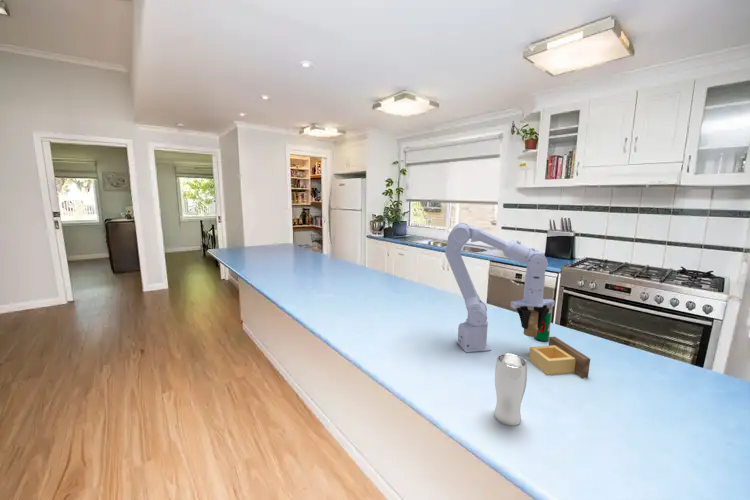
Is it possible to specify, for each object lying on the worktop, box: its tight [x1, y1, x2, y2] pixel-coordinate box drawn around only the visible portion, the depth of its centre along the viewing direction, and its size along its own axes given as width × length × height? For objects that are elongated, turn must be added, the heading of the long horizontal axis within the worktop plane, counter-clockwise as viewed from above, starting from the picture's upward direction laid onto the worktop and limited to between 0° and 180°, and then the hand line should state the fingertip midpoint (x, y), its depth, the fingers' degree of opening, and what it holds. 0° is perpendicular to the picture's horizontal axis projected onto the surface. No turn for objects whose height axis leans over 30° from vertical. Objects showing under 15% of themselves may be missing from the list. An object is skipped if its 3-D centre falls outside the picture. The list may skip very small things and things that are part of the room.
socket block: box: [528, 345, 576, 376], centre depth 101 cm, size 9×9×4 cm
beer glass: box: [493, 353, 528, 427], centre depth 77 cm, size 7×7×15 cm
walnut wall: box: [548, 336, 591, 379], centre depth 102 cm, size 2×15×6 cm, turn 8°
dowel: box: [523, 309, 539, 338], centre depth 108 cm, size 4×4×8 cm
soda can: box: [533, 307, 553, 342], centre depth 120 cm, size 5×5×12 cm
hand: (530, 327), depth 108 cm, fingers closed on dowel, 4 cm apart
